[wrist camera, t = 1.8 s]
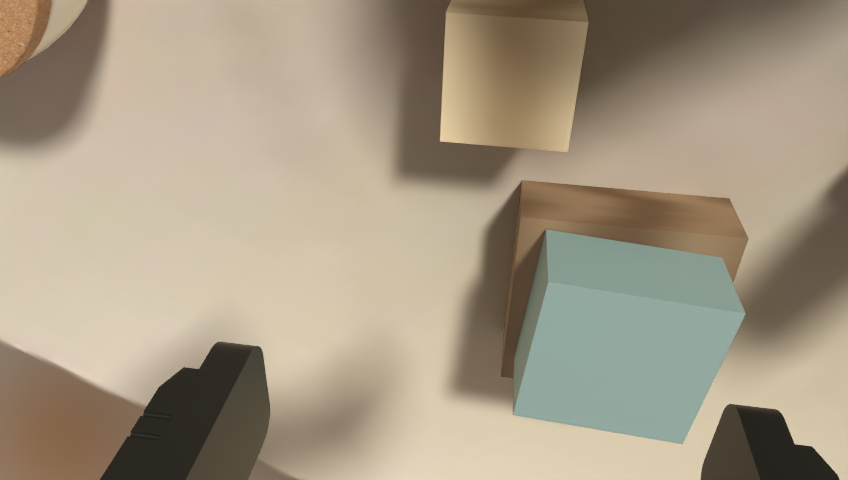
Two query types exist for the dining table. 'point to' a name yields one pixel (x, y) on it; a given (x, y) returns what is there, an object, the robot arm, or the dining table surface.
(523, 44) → the maple block
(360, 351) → the dining table surface
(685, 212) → the tower base
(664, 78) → the dining table surface
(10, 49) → the lidded jar
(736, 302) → the tower top
